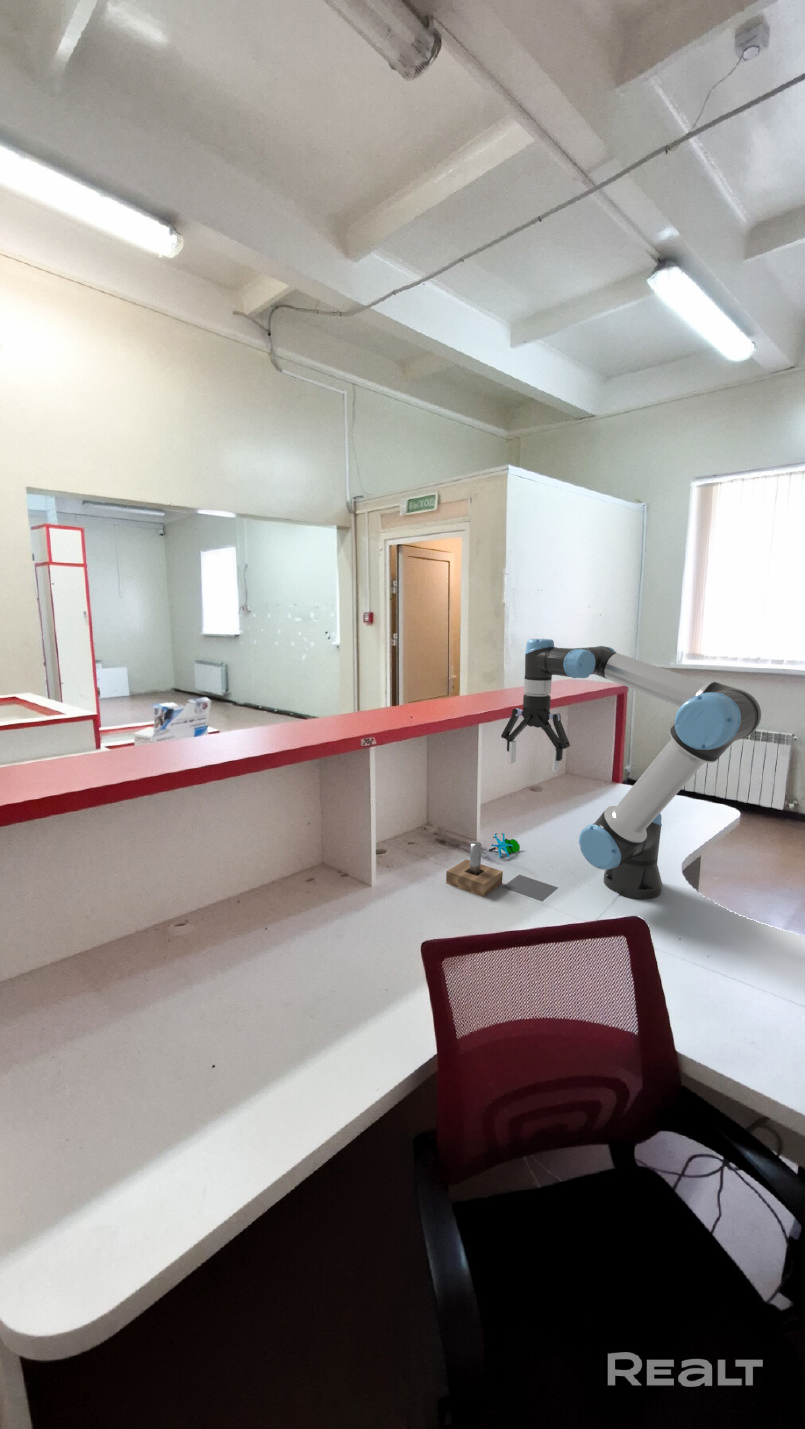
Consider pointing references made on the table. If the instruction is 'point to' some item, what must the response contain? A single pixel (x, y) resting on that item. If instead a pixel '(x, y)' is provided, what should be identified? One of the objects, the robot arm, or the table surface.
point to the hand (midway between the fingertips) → (532, 767)
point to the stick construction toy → (506, 846)
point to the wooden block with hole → (474, 878)
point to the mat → (530, 887)
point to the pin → (475, 858)
